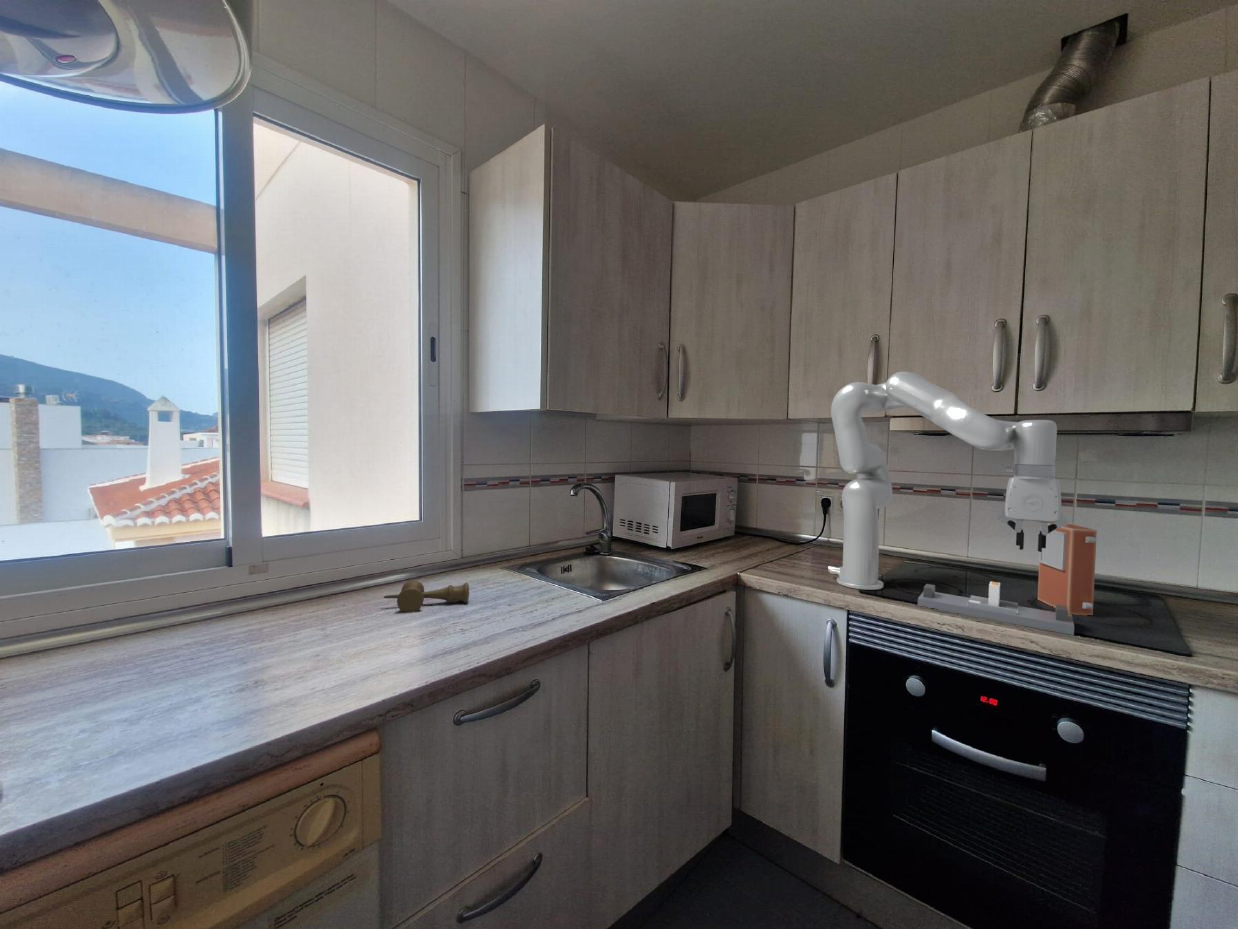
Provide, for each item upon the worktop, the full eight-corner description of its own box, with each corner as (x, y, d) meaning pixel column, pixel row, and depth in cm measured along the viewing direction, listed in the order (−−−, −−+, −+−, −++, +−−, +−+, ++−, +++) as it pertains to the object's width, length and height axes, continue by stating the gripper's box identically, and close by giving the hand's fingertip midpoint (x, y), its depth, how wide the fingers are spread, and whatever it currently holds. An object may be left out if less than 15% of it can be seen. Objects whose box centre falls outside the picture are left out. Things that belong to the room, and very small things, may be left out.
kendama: (469, 610, 124) (380, 615, 117) (468, 599, 133) (385, 604, 127) (470, 585, 124) (381, 589, 117) (468, 577, 133) (386, 580, 127)
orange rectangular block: (1059, 600, 137) (1100, 618, 122) (1030, 598, 138) (1067, 615, 124) (1063, 521, 136) (1104, 530, 122) (1033, 520, 138) (1071, 529, 123)
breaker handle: (988, 606, 123) (989, 584, 122) (989, 602, 126) (990, 580, 126) (998, 608, 121) (999, 585, 121) (999, 604, 125) (1000, 582, 124)
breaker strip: (917, 606, 130) (918, 588, 130) (924, 597, 137) (924, 581, 137) (1073, 635, 111) (1074, 615, 110) (1071, 623, 118) (1072, 604, 118)
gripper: (989, 471, 121) (986, 547, 121) (1081, 474, 110) (1077, 557, 111) (992, 470, 126) (989, 543, 127) (1079, 473, 116) (1075, 552, 117)
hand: (1030, 549), depth 119 cm, fingers open, 2 cm apart
